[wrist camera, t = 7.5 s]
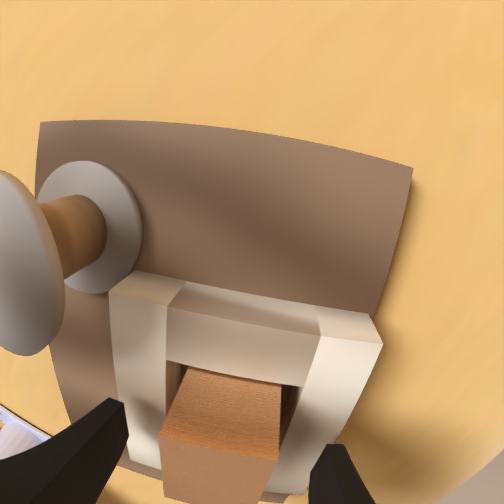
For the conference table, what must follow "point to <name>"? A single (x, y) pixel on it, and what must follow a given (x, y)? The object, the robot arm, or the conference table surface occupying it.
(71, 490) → the robot arm
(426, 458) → the conference table surface
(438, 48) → the conference table surface
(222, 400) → the orange and brown block
